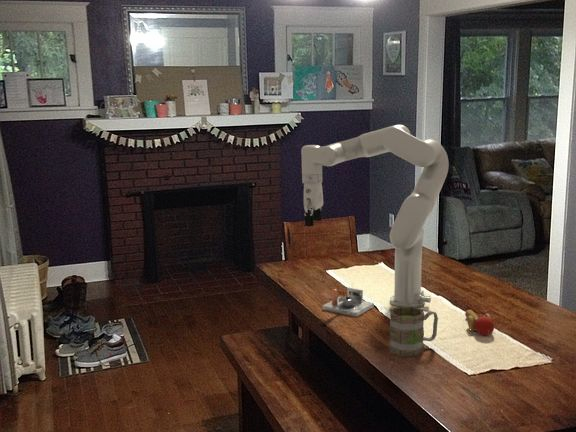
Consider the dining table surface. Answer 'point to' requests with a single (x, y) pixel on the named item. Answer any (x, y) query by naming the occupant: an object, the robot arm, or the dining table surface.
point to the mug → (409, 330)
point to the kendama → (479, 323)
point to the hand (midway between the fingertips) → (313, 223)
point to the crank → (342, 300)
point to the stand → (353, 310)
